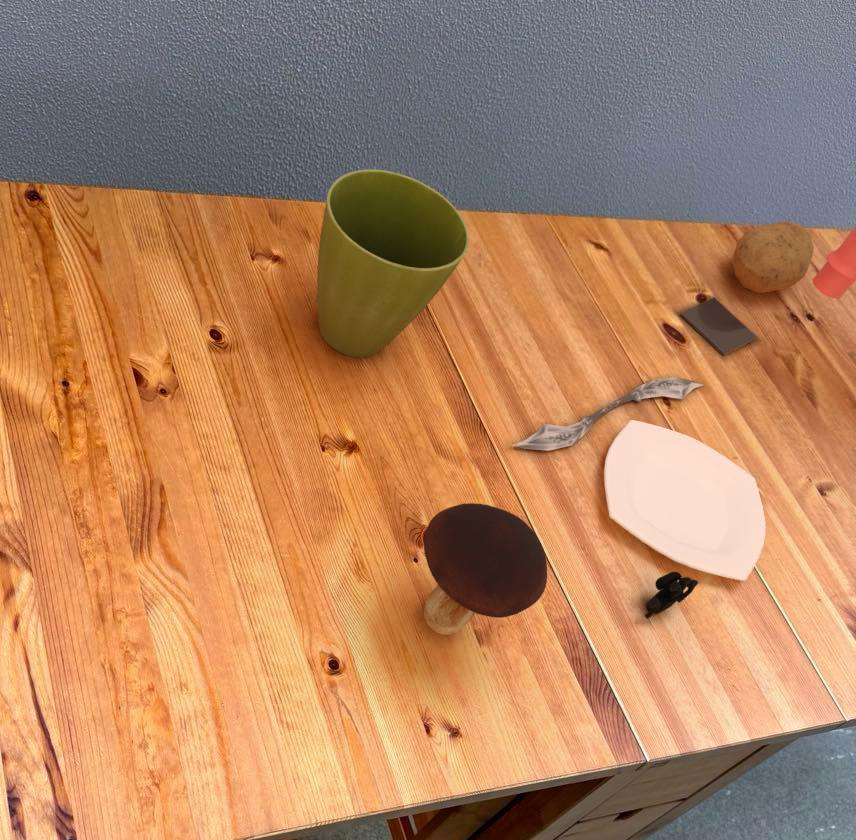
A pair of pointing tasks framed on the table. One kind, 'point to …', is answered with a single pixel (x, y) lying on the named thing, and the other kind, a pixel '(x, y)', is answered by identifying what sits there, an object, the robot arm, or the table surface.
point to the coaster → (718, 326)
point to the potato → (773, 256)
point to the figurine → (838, 269)
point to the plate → (684, 500)
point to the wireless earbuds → (669, 592)
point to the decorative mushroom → (481, 566)
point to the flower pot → (382, 257)
